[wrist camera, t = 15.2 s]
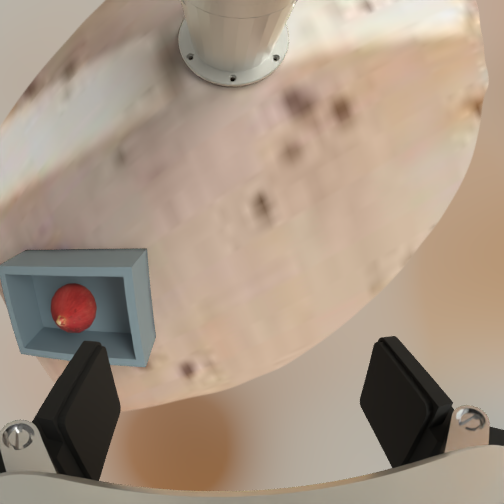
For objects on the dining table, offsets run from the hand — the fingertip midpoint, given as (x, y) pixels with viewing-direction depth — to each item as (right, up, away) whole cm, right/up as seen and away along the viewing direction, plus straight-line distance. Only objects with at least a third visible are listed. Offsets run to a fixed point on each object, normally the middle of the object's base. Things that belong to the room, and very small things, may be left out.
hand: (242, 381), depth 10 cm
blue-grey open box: (-21, -1, +28) cm, 35 cm away
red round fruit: (-21, -1, +27) cm, 34 cm away
